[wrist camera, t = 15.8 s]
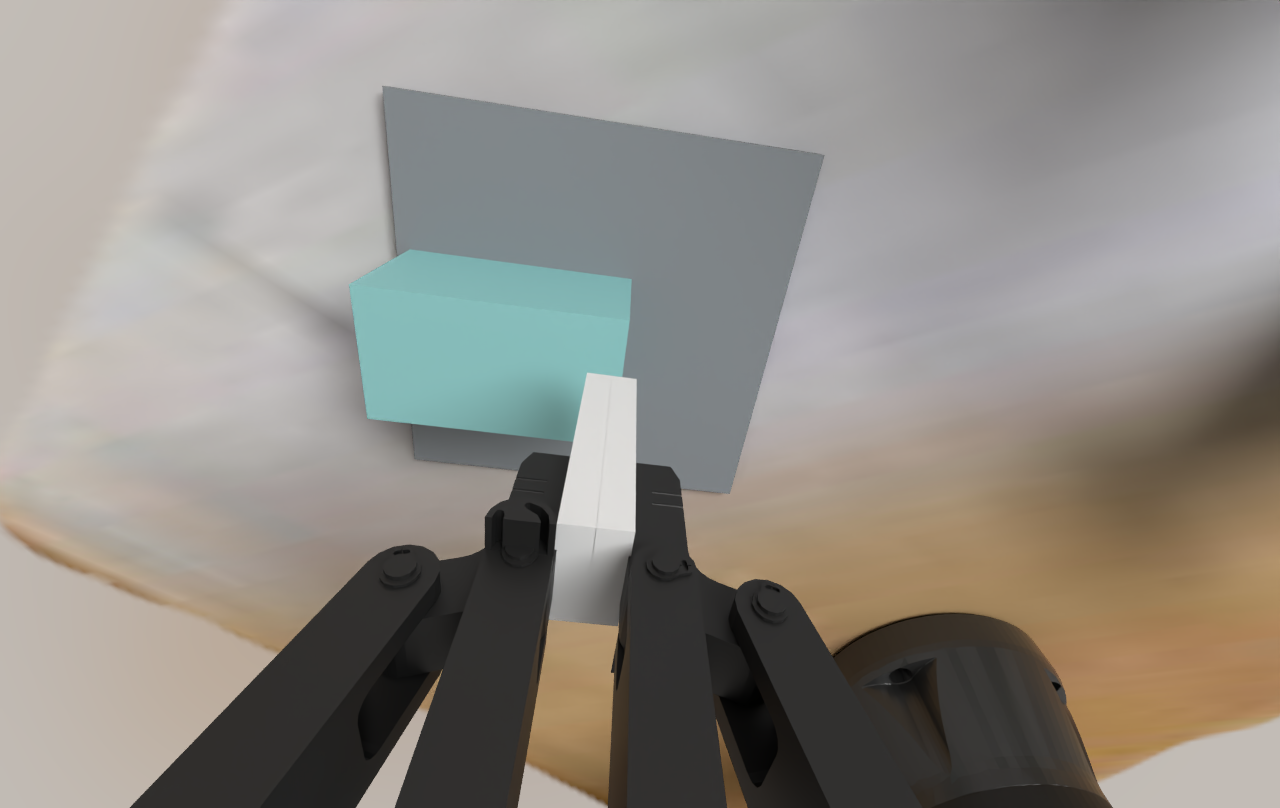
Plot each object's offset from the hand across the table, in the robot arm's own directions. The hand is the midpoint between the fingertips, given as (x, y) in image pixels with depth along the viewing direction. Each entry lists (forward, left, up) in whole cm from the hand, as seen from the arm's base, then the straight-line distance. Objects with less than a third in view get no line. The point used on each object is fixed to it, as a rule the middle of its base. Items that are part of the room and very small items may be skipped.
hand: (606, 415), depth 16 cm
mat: (0, +1, -8) cm, 8 cm away
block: (0, 0, -5) cm, 5 cm away
